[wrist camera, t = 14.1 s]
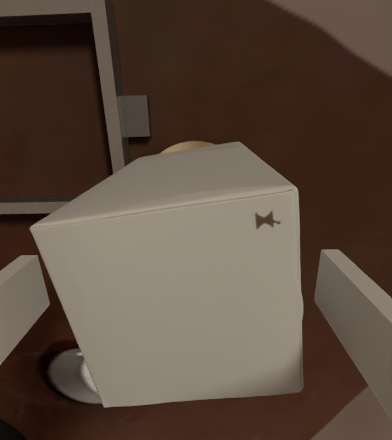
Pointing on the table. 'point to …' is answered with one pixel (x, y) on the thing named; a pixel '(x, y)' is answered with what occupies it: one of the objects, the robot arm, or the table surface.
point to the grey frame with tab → (109, 76)
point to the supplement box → (182, 277)
